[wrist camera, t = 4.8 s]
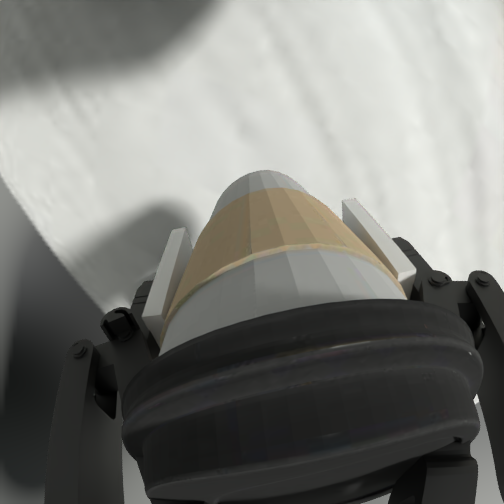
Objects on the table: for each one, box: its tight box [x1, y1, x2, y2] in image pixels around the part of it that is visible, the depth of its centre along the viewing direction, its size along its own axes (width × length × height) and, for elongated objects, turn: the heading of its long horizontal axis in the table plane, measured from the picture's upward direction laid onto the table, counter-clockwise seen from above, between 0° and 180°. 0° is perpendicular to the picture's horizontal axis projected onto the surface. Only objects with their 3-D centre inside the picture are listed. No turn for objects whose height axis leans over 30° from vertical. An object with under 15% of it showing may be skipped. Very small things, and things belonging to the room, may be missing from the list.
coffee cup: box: [121, 170, 483, 504], centre depth 11 cm, size 9×9×15 cm
